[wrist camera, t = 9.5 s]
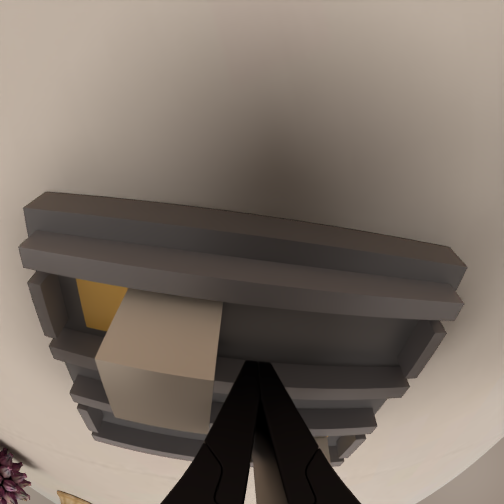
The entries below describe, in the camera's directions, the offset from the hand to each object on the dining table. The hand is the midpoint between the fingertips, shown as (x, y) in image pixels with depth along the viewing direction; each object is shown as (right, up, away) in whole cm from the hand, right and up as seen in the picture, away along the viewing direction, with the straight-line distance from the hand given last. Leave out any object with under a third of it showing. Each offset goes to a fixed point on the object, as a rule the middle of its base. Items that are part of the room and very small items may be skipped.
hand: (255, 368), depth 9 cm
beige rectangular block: (-3, +1, +1) cm, 3 cm away
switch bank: (-1, -2, +5) cm, 5 cm away
